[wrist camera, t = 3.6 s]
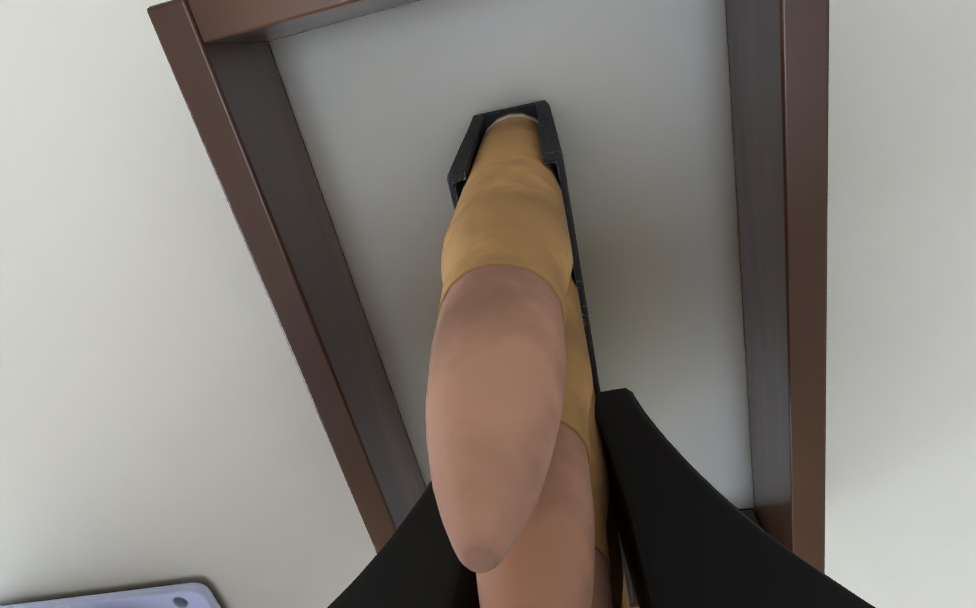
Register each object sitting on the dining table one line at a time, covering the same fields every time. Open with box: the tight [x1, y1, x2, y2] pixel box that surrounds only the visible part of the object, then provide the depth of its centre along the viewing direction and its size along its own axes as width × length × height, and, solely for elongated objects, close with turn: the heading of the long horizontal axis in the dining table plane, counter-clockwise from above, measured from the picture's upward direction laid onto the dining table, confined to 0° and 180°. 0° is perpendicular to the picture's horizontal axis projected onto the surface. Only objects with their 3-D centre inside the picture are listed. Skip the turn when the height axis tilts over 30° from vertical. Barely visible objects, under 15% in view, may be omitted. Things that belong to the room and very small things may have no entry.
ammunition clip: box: [426, 100, 633, 608], centre depth 10 cm, size 11×2×12 cm, turn 12°
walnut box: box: [147, 0, 829, 608], centre depth 14 cm, size 12×18×3 cm, turn 13°
